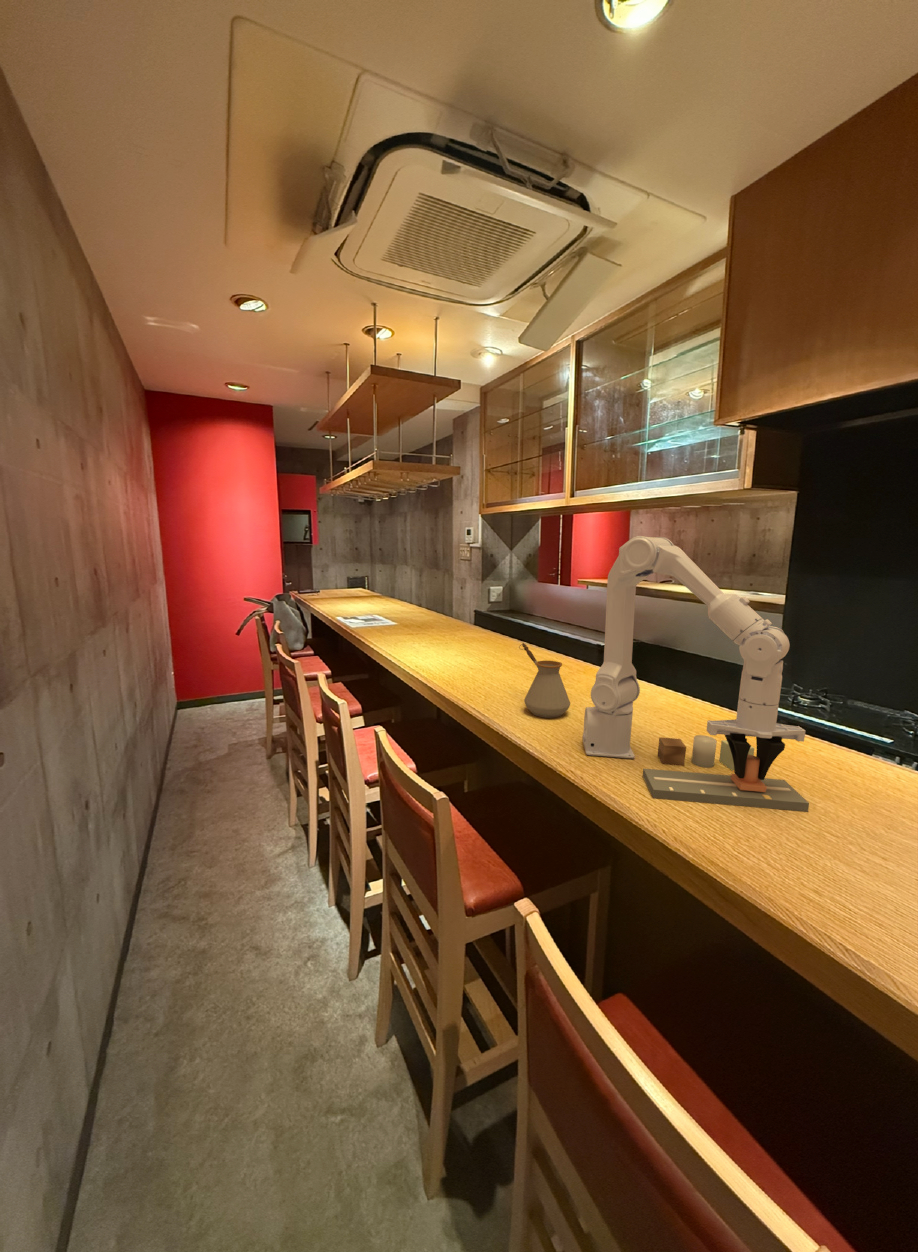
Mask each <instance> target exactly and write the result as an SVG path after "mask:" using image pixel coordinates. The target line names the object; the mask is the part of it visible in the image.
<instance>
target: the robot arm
mask: <svg viewBox="0 0 918 1252" xmlns="http://www.w3.org/2000/svg"><path fill="white" fill-rule="evenodd" d="M618 551H619V552H618V556H617V558H616V560H615V561H614V562H613V565H612V567H611V568H610V570H609V572H608V575H607V582H606V583H607V586H606V587H607V588H606V604H605V605H606V606H605V607H606V609H605V630H604V646H603V648H604V649H603V651H604V652H603V663H602V665H601V666H600V667H599V669H598V670H597V672H596V674H595V681H594V684H593V685H592V687H591V689H590V699H591V702H592V704H593V705H594V706H587V707H585V710H584V715H583V716H584V718H583V720H584V721H583V733H582V743H583V747H584V751H585V754H586V755H588V756H595V757H596V756H597V757H606V758H607V757H609V758H620V759H621V758H623V759H635V757H636V755H635V754H634V752H633V749H632V748H631V747H632V746H631V737H632V727H633V726H632V725H633V715H634V713H633V710H634V707H633V706H634V702H635V701H636V700H637V699H638V698H639V696H640V694H641V687H640V684H639V682H638V679H637V669H636V668H635V666H634V664H633V663H632V662H633V661H632V660H633V645H634V643H633V642H634V626H635V610H636V608H635V607H636V595H637V594H636V593H637V591H636V590H637V586H638V585H639V584H640V583H641V582H643V581H644V580H645V579H646V578H648V577H649V576H650V575H652V574H654V573H656V574H661V575H666V576H672V577H674V579H676V581H678V582H680V583H681V584H682V585H683V587H685V588H687V590H688V591H690V592H691V593H692V594H693V595H694V596H696V597H697V598H698V599H699V600H700V601H701V602H702V603H704V604H705V605H706V606H707V616H708V619H709V620H711V621H712V622H713V624H714V625H716V626H717V627H718V628H719V629H720V631H722V632H723V633H724V634H725V635H726V636H727V637H728V638H729V639H730V640H731V641H732V642H733V643H734V644H735V645H738V647H739V648H738V649H739V650H738V651H739V654H740V657H741V658H742V659H743V666H742V670H741V678H740V683H739V684H740V685H739V694H738V702H737V710H736V719H722V720H711V719H710V720H707V722H706V724H707V725H706V732H707V733H708V734H709V736H717V735H724V737H725V738H726V739H725V740H727V742H728V744H729V747H730V750H731V753H732V757H733V763H734V772H733V773H734V774H736V775H737V776H738V778H744V775H745V766H746V759H747V756H748V752H749V750H750V747H751V746H752V745H751V743H749V741H748V738H746V737H754V738H755V739H756V740H755V741H756V753H755V756H756V757H758V758H759V759H760V765H759V773H758V779H759V780H764V778H766V776H767V774H768V772H769V771H770V768H771V767H772V764H773V763H774V761H775V760H776V758H778V757H779V755H780V754H781V753H782V752H784V751H785V748H786V743H785V742H784V741H783V739H784V740H795V741H796V742H804V741H805V737H806V730H805V729H804V728H802V727H800V726H799V725H798V726H797V725H788V724H782V723H777V720H778V712H779V704H780V698H781V689H782V682H783V674H782V673H783V669H784V660H782V659H784V657H786V655H787V654H788V652H789V650H790V645H791V644H790V641H789V637H788V636H787V634H785V632H784V630H783V629H782V628H779V627H777V626H771V625H772V624H773V622H771V620H769V619H768V618H767V619H764V618H763V617H761V615H760V614H758V613H757V611H755V610H754V609H753V608H751V606H750V605H748V604H749V603H750V600H749V599H748V598H747V597H746V596H741V597H740V596H739V595H738V594H737V593H724V592H723V591H722V590H721V588H719V587H718V586H717V584H715V583H714V581H712V580H711V578H710V577H708V575H707V574H705V572H704V571H703V570H702V569H700V567H699V566H698V565H697V564H696V563H695V562H694V561H693V560H692V559H691V557H689V556H688V555H687V553H685V552H684V550H682V549H681V548H680V547H679V546H678V545H674V543H673V542H672V541H671V540H670V539H669V538H667V537H664V536H658V537H657V536H656V537H652V536H651V537H649V536H642V535H637V536H634V537H632V538H630V539H629V540H628V541H626V542H625V543H624V544H623V545H621V546H619V548H618Z"/></svg>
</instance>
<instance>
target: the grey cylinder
mask: <svg viewBox="0 0 918 1252" xmlns="http://www.w3.org/2000/svg"><path fill="white" fill-rule="evenodd" d="M716 749H717V739H716V738H714V737H712V736H710V735H709V736H708V735H702V734H696V735H694V736H693V745H692V753H691V763H692V764H693V765H695V766H698V767H700V768H704V769H705V768H707V769H711V768H714V766H715V761H716Z"/></svg>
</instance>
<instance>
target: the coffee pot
mask: <svg viewBox="0 0 918 1252" xmlns="http://www.w3.org/2000/svg"><path fill="white" fill-rule="evenodd" d="M521 646H522V648H520V647H521ZM518 648H519V650H523V651H526V654H527V656H528V657H529V658H530V660H531V661H532V662H533V663H534V665H535V666H536V668H537V671H536V675H535V677H534V678H533V681H532V683H531V685H530V687H529V689H528V691H527V693H526V695H525V697H524V699H523V700H524V705H525V707H526V708H527V709H528V711H530V712H531V713H532V715H534V716H537V717H539V718H540V717H541V718H548V719H550V718H551V719H552V718H553V719H554V718H560V717H561V716H563V714H564V713H566V712H567V711H568V710H569V709H570V707H571V701H570V699H569V696H568V693H567V691H566V688H565V685H564V682H563V679H562V677H561V675H560V669H561V667H562V666H563V663H562V662H560V661H555V660H537V659H536V657H535V656H534V654H533V653H532V651H531V650H530V649H529V647H528V645H527V644H526V643H524V642H522V643H521V644H520V645H519V646H518Z"/></svg>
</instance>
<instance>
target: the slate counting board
mask: <svg viewBox="0 0 918 1252" xmlns="http://www.w3.org/2000/svg"><path fill="white" fill-rule="evenodd" d="M642 778H643V780H644V782H645V784H646V786H647V788H648V791H649V792H650V795H651V797H652V798H653V799H661V800H671V801H672V800H673V801H685V802H697V803H704V804H707V803H708V804H718V805H727V806H728V805H729V806H738V807H751V808H752V807H753V808H761V809H772V810H774V809H775V810H785V811H787V810H788V811H796V812H807V813H808V812H809V807H810V806H809V805H810V802H809V801H807V800H806V799H805V797H804V796H803V795H801V794H800V793H799V792H798V791H797V790H796V789H795V787H793V786H792V785H791V784H789V782H787V781H786V780H785V779H779V778H778V779H777V778H766V777H765V778H764V780H761V781H762V782H763V783H764V784H765V785H766V792H759V791H747V790H740V789H739V788H738V787H737V786H736V784H735V783H734V782H733V781H732V780H731V774H730V775H728V774H718V773H716V774H715V773H706V772H705V773H703V772H694V771H693V772H692V771H680V770H668V769H666V770H665V769H655V768H644V767H643V770H642Z"/></svg>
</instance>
